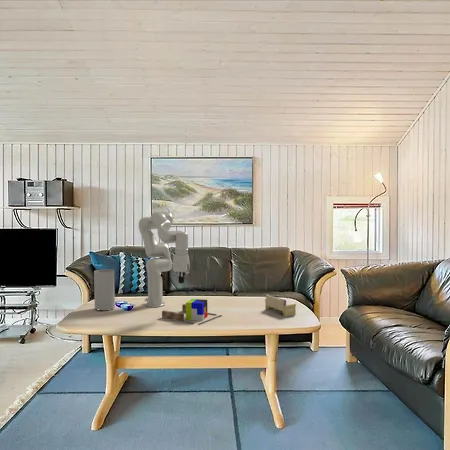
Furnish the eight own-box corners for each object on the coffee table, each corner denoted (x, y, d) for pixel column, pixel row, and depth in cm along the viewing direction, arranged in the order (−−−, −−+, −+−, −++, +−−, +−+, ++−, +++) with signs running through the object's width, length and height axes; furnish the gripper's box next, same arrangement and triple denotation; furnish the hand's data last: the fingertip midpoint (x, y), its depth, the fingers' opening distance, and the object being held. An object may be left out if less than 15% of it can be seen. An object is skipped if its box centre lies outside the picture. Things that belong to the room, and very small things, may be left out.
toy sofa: (296, 314, 242) (296, 298, 241) (285, 316, 237) (285, 299, 237) (275, 308, 260) (275, 292, 259) (264, 309, 255) (264, 293, 255)
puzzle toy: (202, 320, 230) (202, 303, 230) (186, 319, 233) (185, 302, 232) (207, 316, 240) (207, 299, 240) (191, 315, 242) (191, 299, 242)
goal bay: (182, 322, 228) (182, 321, 228) (205, 313, 247) (205, 312, 247) (199, 325, 221) (199, 324, 221) (221, 315, 240) (221, 315, 240)
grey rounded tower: (113, 306, 269) (112, 268, 268) (116, 310, 258) (115, 271, 257) (93, 308, 263) (92, 270, 263) (96, 312, 252) (95, 272, 251)
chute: (162, 317, 237) (161, 311, 237) (184, 310, 255) (184, 304, 255) (181, 321, 229) (181, 314, 229) (203, 313, 247) (203, 306, 246)
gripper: (168, 252, 242) (167, 282, 243) (187, 254, 234) (187, 285, 235) (176, 250, 248) (175, 280, 249) (195, 253, 240) (195, 283, 241)
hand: (181, 282), depth 242 cm, fingers closed
